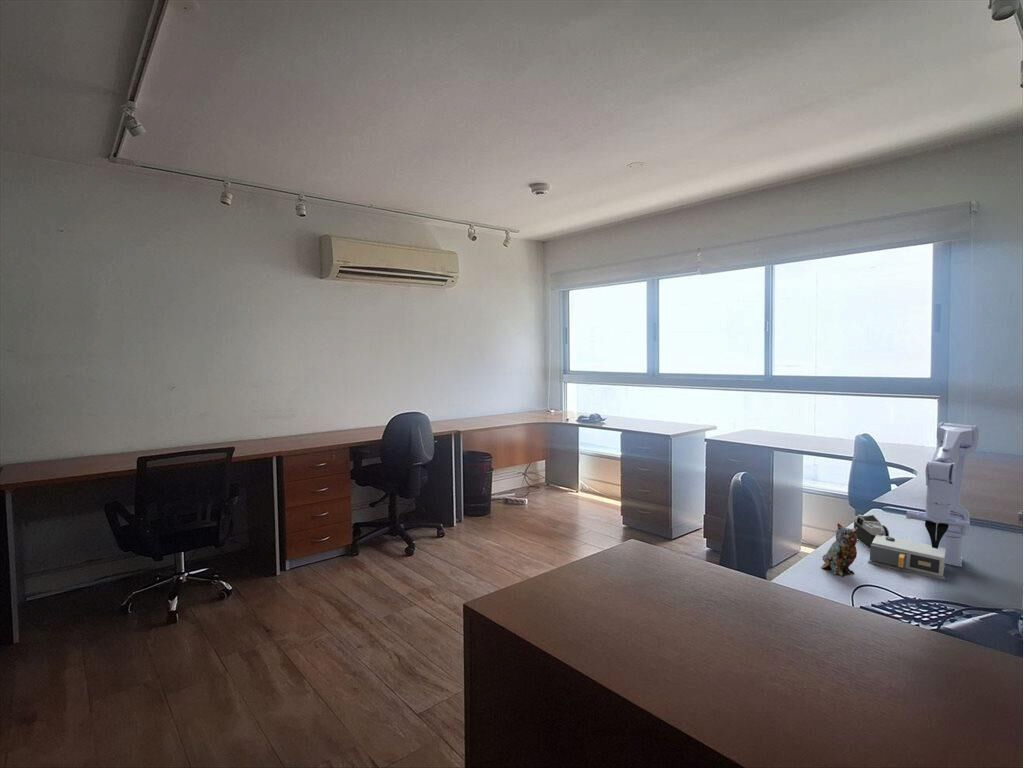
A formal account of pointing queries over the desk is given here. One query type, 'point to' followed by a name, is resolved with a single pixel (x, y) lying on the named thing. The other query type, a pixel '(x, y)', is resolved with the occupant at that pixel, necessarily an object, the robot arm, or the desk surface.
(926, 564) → the camera case
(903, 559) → the side door
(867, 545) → the camera
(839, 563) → the figurine
